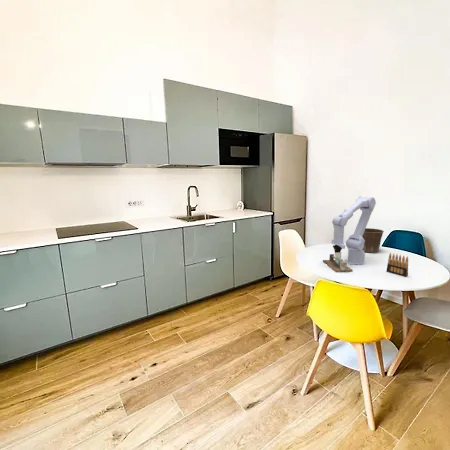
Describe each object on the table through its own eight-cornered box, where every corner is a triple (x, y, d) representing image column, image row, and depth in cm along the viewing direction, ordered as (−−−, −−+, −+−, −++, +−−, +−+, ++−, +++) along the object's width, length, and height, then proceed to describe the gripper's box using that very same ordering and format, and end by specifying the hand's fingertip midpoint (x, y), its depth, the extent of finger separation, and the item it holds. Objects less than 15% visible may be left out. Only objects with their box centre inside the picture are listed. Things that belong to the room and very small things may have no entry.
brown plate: (337, 261, 176) (337, 252, 175) (352, 271, 157) (353, 262, 156) (322, 261, 176) (323, 253, 175) (336, 272, 156) (336, 262, 155)
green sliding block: (340, 261, 165) (340, 252, 164) (343, 263, 161) (343, 254, 160) (334, 262, 165) (335, 252, 164) (337, 264, 161) (338, 254, 160)
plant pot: (362, 246, 208) (363, 227, 205) (384, 250, 196) (386, 229, 193) (354, 251, 198) (355, 230, 194) (377, 255, 186) (379, 233, 183)
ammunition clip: (386, 271, 155) (388, 252, 153) (387, 271, 156) (389, 251, 154) (406, 277, 147) (408, 256, 144) (407, 276, 148) (410, 256, 145)
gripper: (327, 233, 170) (326, 253, 172) (337, 238, 155) (336, 260, 158) (338, 232, 170) (336, 252, 172) (349, 238, 156) (347, 260, 158)
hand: (337, 256), depth 165 cm, fingers closed, pressing on green sliding block
